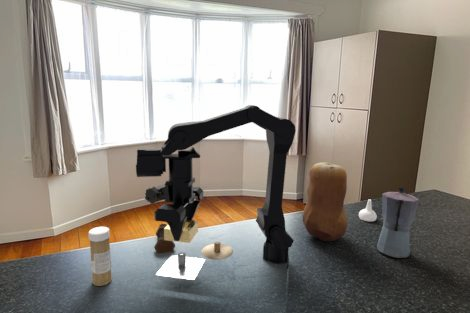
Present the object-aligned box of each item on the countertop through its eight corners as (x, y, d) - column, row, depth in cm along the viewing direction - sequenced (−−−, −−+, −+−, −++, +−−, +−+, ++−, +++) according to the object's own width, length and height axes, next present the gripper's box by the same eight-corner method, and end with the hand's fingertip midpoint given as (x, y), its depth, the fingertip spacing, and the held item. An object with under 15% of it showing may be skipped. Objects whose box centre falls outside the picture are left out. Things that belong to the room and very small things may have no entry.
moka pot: (409, 245, 97) (418, 184, 93) (414, 269, 84) (424, 198, 80) (376, 238, 101) (383, 179, 97) (375, 260, 88) (383, 193, 84)
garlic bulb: (359, 222, 116) (362, 203, 113) (357, 214, 122) (359, 196, 119) (377, 224, 114) (380, 204, 112) (374, 216, 120) (376, 197, 118)
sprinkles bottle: (94, 277, 77) (90, 226, 74) (113, 275, 78) (110, 225, 75) (90, 288, 73) (86, 235, 70) (111, 285, 74) (108, 233, 71)
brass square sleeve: (197, 231, 82) (197, 220, 81) (189, 242, 75) (189, 231, 75) (174, 229, 83) (174, 218, 82) (164, 240, 76) (163, 228, 76)
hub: (205, 262, 85) (205, 247, 84) (194, 283, 75) (194, 266, 74) (171, 258, 87) (171, 243, 86) (155, 278, 77) (155, 261, 76)
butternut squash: (344, 232, 105) (351, 160, 101) (346, 251, 93) (354, 170, 88) (302, 227, 109) (307, 157, 104) (299, 244, 96) (305, 166, 92)
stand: (235, 248, 93) (235, 237, 92) (229, 264, 84) (229, 252, 83) (206, 245, 94) (206, 234, 94) (197, 260, 86) (197, 248, 85)
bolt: (166, 238, 103) (167, 259, 88) (152, 232, 101) (151, 253, 87) (174, 223, 103) (177, 242, 88) (160, 216, 101) (161, 235, 87)
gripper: (165, 165, 86) (166, 217, 89) (131, 183, 68) (134, 248, 71) (203, 167, 84) (204, 221, 87) (178, 187, 66) (180, 253, 69)
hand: (181, 234), depth 79 cm, fingers closed on brass square sleeve, 7 cm apart
